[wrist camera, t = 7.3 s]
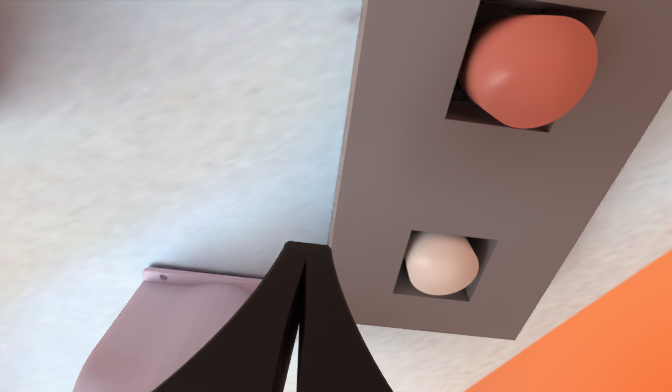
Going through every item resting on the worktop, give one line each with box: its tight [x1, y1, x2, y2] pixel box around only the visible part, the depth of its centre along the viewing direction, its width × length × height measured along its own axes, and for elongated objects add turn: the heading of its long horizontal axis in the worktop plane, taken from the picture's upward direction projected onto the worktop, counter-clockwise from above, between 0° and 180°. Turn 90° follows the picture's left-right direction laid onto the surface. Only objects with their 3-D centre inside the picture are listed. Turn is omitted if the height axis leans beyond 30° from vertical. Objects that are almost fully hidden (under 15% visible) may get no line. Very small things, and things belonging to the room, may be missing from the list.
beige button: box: [404, 230, 479, 295], centre depth 18 cm, size 4×4×3 cm
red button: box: [458, 14, 598, 129], centre depth 12 cm, size 4×4×3 cm
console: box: [328, 0, 672, 340], centre depth 17 cm, size 12×20×4 cm, turn 173°
